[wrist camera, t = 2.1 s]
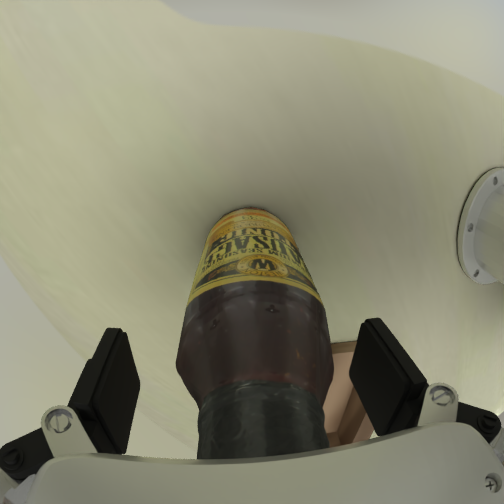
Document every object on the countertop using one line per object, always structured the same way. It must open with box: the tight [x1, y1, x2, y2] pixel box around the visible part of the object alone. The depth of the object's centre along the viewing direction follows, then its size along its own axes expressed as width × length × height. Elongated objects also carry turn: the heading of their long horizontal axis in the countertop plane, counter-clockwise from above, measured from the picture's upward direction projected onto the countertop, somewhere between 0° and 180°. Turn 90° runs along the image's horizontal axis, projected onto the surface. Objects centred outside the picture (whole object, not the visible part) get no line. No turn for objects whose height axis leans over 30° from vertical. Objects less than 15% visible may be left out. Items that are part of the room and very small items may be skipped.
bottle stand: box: [323, 341, 374, 448], centre depth 27 cm, size 18×16×6 cm
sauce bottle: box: [176, 207, 334, 459], centre depth 14 cm, size 6×6×20 cm
